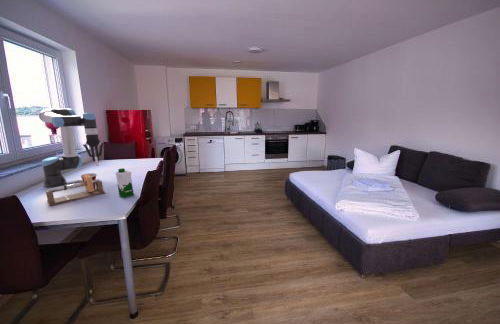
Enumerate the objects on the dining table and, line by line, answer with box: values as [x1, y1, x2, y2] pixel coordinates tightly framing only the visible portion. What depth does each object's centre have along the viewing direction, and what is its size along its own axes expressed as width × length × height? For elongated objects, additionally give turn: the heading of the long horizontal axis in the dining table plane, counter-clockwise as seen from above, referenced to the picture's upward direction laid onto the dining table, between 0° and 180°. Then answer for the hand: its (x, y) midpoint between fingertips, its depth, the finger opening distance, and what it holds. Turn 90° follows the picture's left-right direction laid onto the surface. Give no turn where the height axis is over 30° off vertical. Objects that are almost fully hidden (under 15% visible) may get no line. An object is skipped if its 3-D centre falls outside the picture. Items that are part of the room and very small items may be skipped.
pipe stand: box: [45, 179, 106, 207], centre depth 165 cm, size 12×32×9 cm, turn 138°
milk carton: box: [114, 168, 135, 199], centre depth 166 cm, size 9×9×20 cm
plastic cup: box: [80, 172, 98, 189], centre depth 183 cm, size 11×11×12 cm
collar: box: [82, 173, 94, 192], centre depth 170 cm, size 11×3×11 cm, turn 48°
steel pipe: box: [48, 178, 100, 193], centre depth 164 cm, size 4×29×4 cm, turn 138°
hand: (96, 165), depth 172 cm, fingers closed
